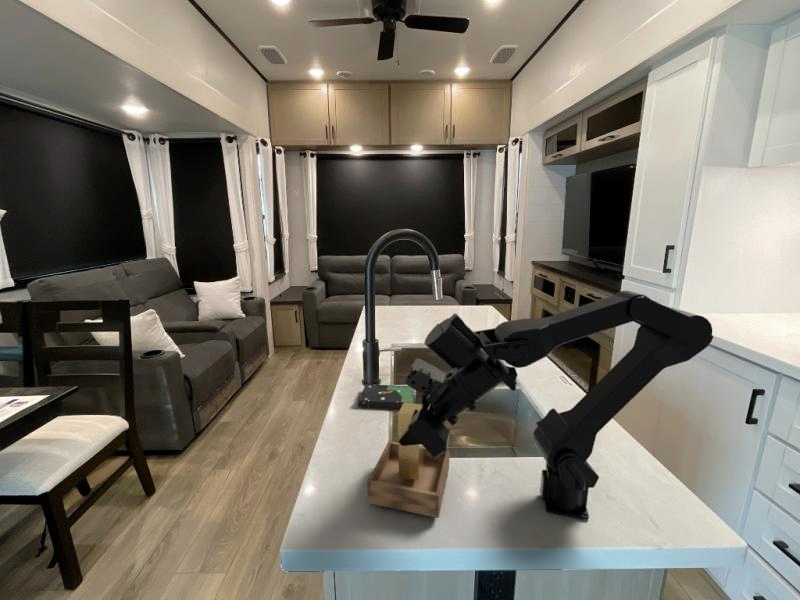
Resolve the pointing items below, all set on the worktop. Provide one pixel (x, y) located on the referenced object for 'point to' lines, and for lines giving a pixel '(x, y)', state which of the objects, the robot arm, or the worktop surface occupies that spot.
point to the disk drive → (386, 397)
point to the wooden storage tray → (409, 483)
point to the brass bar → (412, 453)
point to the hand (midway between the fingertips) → (403, 436)
